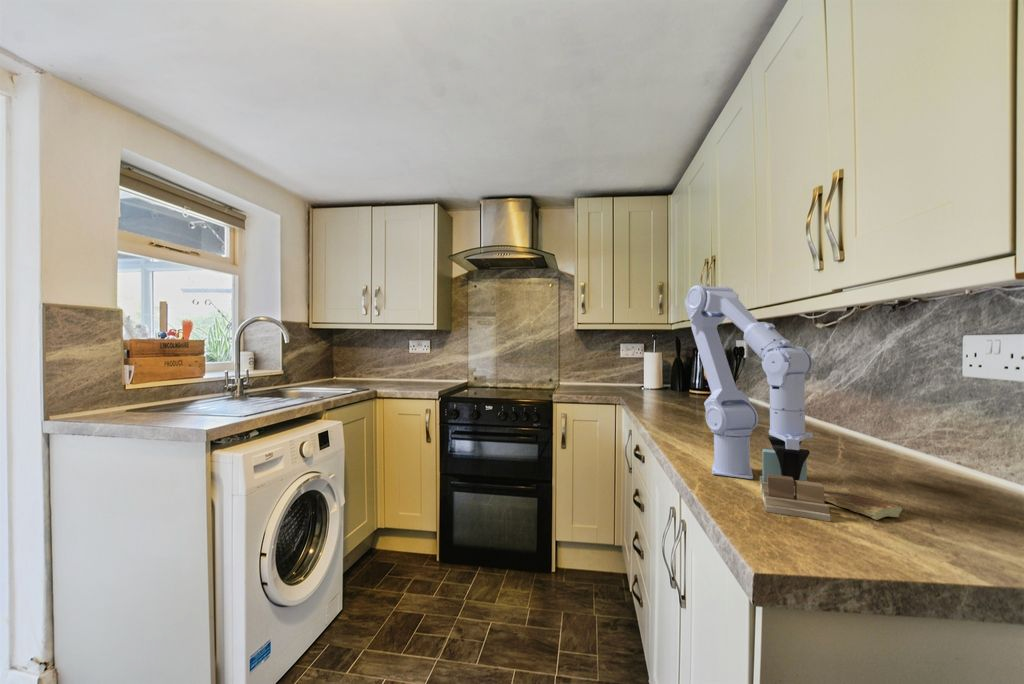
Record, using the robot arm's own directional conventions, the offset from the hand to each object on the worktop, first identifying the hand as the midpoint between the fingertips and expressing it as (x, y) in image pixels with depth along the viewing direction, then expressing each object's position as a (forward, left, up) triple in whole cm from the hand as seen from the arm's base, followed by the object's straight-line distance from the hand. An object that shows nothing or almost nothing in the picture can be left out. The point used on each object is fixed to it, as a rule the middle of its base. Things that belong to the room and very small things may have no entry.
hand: (787, 479), depth 80 cm
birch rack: (+4, 0, -3) cm, 5 cm away
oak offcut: (+9, +2, -2) cm, 9 cm away
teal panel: (0, -1, -2) cm, 2 cm away
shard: (+4, +10, -3) cm, 11 cm away
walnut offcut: (+9, -2, -2) cm, 9 cm away
